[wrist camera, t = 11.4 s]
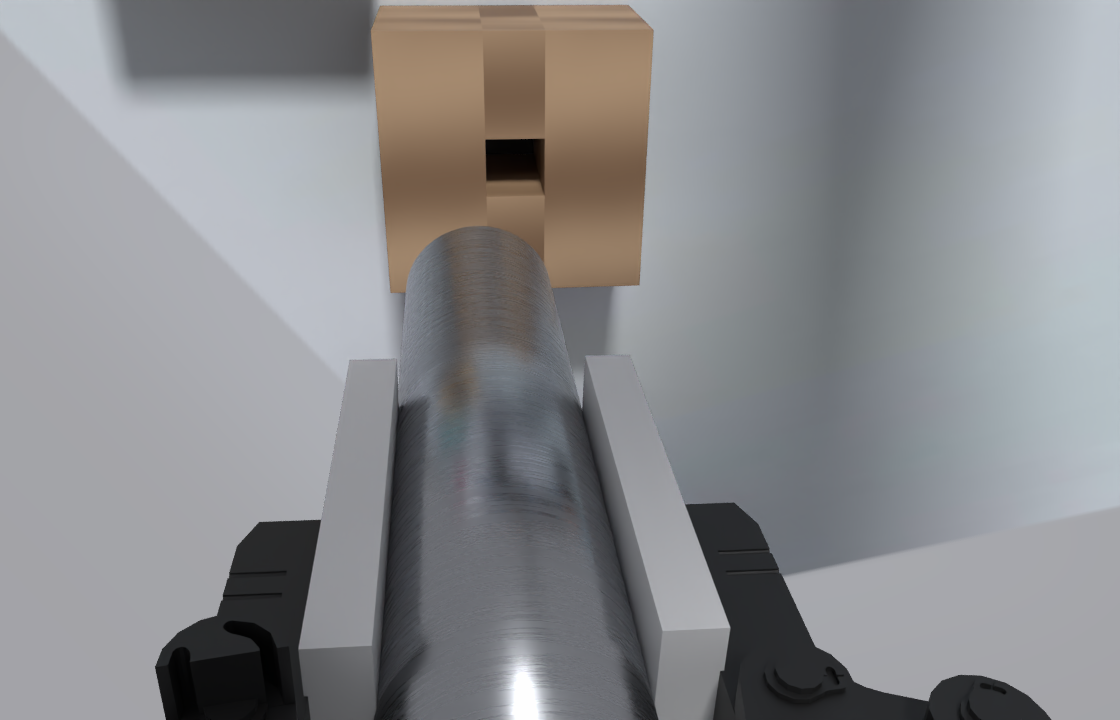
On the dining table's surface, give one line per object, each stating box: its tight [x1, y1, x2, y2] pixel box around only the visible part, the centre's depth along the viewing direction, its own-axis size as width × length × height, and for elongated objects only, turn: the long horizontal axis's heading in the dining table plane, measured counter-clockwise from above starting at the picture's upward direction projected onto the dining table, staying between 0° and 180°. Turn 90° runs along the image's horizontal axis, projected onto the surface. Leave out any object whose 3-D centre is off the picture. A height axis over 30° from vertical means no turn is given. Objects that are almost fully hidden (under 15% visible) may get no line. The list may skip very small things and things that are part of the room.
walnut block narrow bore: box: [371, 5, 653, 293], centre depth 36 cm, size 9×9×5 cm
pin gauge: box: [374, 226, 658, 720], centre depth 16 cm, size 3×3×14 cm
